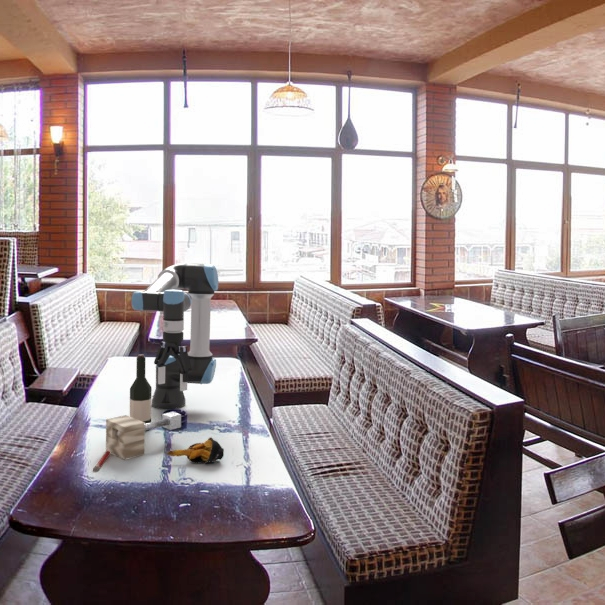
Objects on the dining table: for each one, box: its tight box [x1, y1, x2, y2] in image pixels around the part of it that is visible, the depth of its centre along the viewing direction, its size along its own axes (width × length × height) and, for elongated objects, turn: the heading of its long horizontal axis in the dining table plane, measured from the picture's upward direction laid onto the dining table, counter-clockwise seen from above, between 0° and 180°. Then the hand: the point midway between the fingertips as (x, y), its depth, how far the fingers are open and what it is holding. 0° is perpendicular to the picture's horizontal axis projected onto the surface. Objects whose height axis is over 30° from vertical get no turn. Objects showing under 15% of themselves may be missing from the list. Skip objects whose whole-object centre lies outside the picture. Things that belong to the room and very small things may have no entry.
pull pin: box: [116, 411, 182, 437], centre depth 227 cm, size 5×26×5 cm, turn 138°
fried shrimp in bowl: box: [166, 437, 225, 464], centre depth 213 cm, size 9×11×18 cm
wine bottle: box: [129, 353, 153, 432], centre depth 246 cm, size 8×8×30 cm
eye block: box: [105, 414, 146, 461], centre depth 220 cm, size 12×9×12 cm
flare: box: [92, 451, 111, 472], centre depth 211 cm, size 2×15×2 cm, turn 2°
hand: (172, 387), depth 234 cm, fingers open, 13 cm apart
